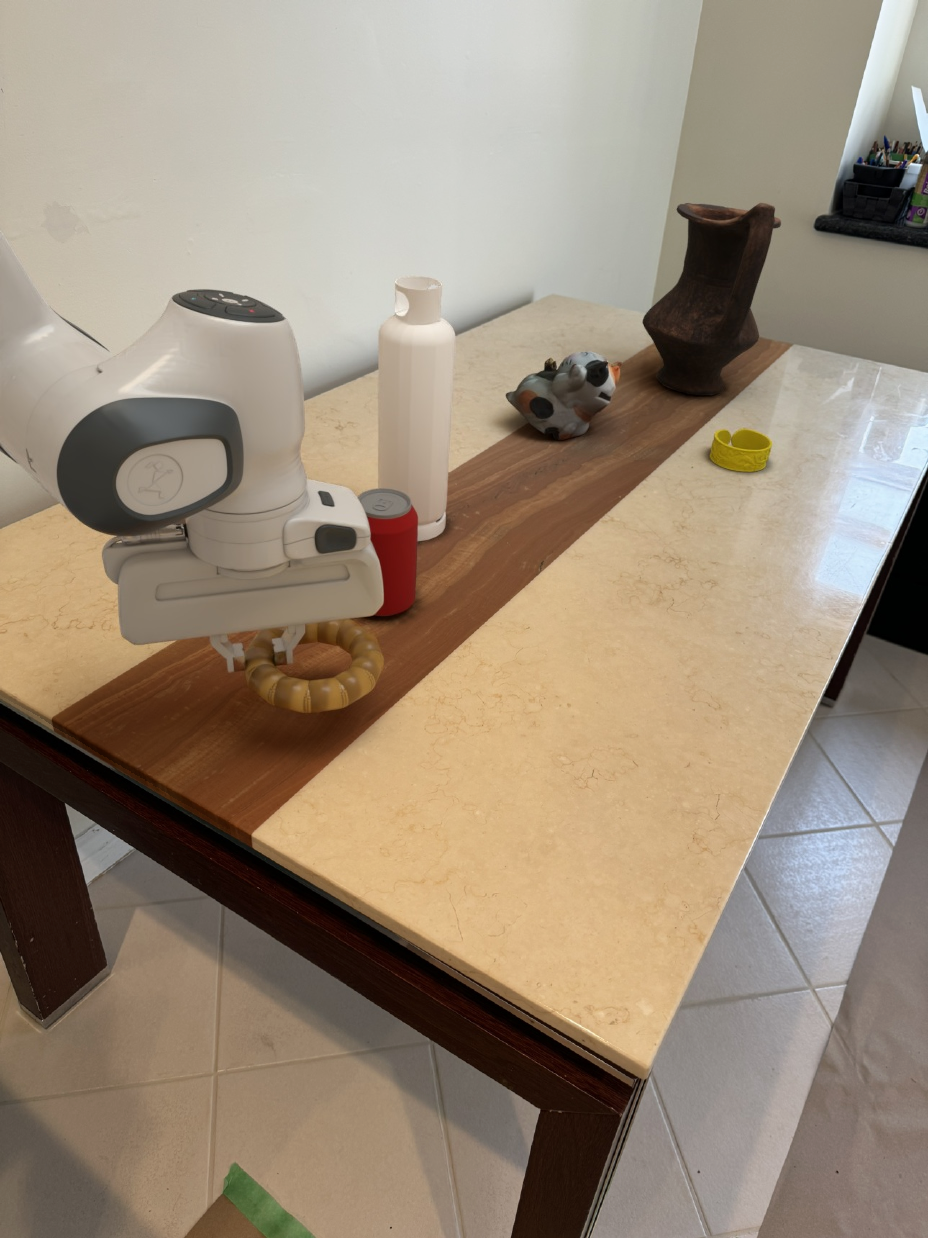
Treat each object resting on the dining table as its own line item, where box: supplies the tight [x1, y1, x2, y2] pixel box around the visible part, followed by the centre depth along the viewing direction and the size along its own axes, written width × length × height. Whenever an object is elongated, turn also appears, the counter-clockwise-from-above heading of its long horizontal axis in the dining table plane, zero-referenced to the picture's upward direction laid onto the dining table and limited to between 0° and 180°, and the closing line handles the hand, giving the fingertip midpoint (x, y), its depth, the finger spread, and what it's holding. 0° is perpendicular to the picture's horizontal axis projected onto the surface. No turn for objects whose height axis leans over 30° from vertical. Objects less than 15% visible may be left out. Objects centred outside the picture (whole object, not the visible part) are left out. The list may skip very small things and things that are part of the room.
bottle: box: [377, 275, 457, 542], centre depth 96 cm, size 8×8×28 cm
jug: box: [642, 202, 782, 396], centre depth 137 cm, size 21×18×30 cm
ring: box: [243, 618, 385, 714], centre depth 74 cm, size 12×12×3 cm
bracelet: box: [709, 428, 773, 473], centre depth 123 cm, size 7×8×3 cm
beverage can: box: [357, 487, 419, 617], centre depth 88 cm, size 7×7×12 cm
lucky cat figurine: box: [505, 350, 623, 441], centre depth 126 cm, size 15×12×14 cm
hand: (260, 664), depth 72 cm, fingers closed on ring, 2 cm apart
